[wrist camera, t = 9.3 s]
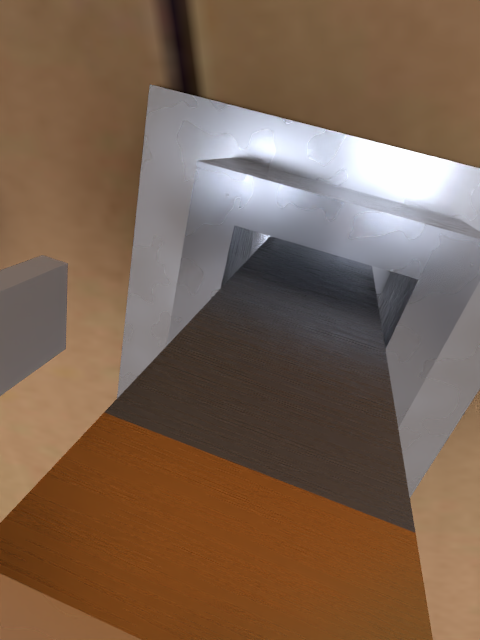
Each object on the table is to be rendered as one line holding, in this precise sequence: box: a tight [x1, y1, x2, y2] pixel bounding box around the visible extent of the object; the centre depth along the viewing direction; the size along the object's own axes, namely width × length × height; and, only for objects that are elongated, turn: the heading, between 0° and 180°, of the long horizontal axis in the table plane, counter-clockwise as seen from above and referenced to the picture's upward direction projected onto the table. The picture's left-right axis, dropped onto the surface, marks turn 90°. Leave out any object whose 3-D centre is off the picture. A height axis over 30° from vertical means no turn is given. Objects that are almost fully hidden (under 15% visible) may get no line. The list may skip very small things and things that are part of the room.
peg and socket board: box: [117, 84, 480, 497], centre depth 14 cm, size 22×16×12 cm
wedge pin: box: [0, 236, 433, 640], centre depth 10 cm, size 4×4×14 cm
